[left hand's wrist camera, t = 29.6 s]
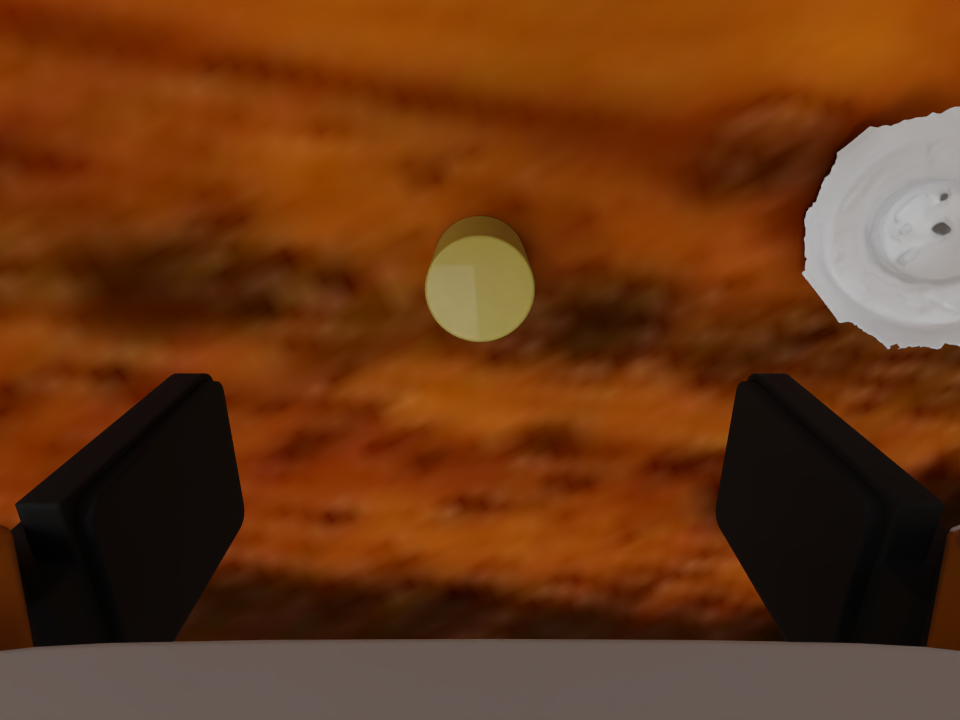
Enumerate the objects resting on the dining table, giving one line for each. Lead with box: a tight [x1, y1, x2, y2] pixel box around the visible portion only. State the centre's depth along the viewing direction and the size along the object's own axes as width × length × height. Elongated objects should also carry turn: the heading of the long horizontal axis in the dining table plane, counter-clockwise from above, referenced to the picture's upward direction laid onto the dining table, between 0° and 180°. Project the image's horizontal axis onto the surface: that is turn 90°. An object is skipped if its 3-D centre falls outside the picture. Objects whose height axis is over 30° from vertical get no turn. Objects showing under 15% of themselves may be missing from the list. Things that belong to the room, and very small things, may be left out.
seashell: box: [802, 107, 960, 349], centre depth 22 cm, size 8×5×8 cm
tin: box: [425, 216, 535, 342], centre depth 23 cm, size 4×4×4 cm
